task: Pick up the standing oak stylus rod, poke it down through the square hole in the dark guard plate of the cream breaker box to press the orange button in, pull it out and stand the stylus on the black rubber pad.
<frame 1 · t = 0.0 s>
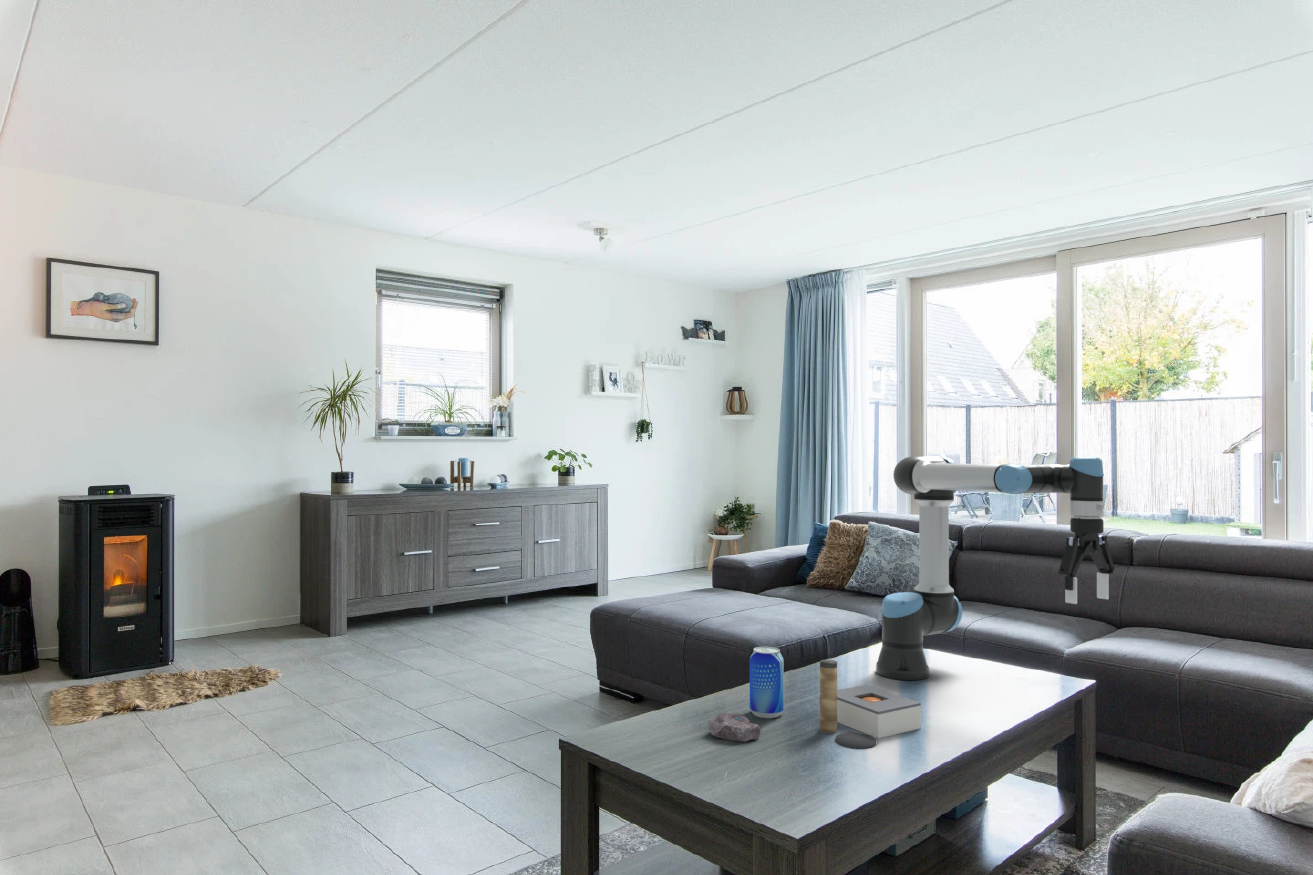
hand: (1087, 600, 210), 28 cm above the table, fingers open, 13 cm apart
breaker button: (871, 703, 200), point 5 cm above the table, slide at 0.0 cm
stylus: (828, 730, 194), on the table
beer can: (766, 714, 206), on the table
rock: (732, 737, 189), on the table
breaker box: (871, 722, 199), on the table
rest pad: (855, 741, 186), on the table
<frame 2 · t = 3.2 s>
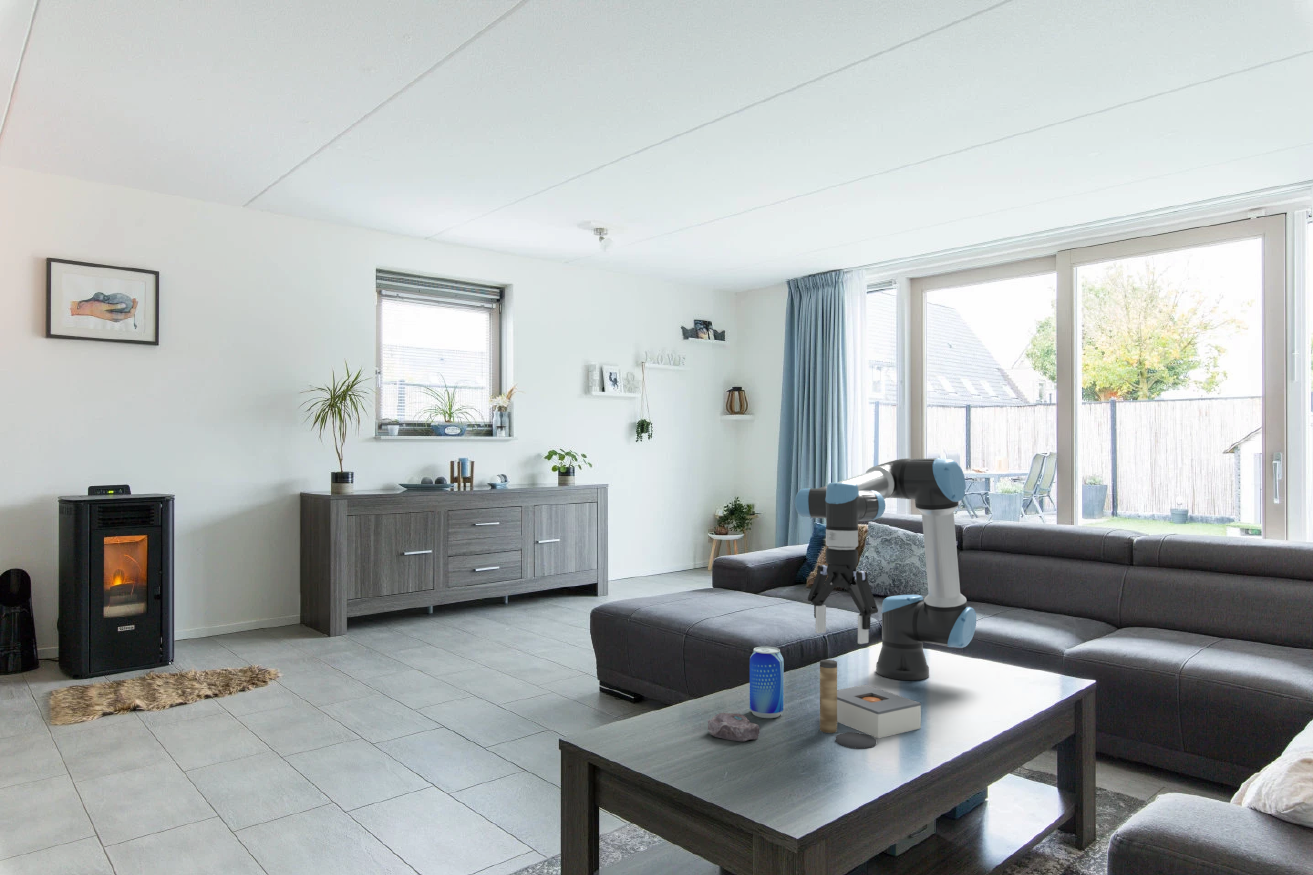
hand: (841, 637, 195), 22 cm above the table, fingers open, 13 cm apart
nothing on the table moved.
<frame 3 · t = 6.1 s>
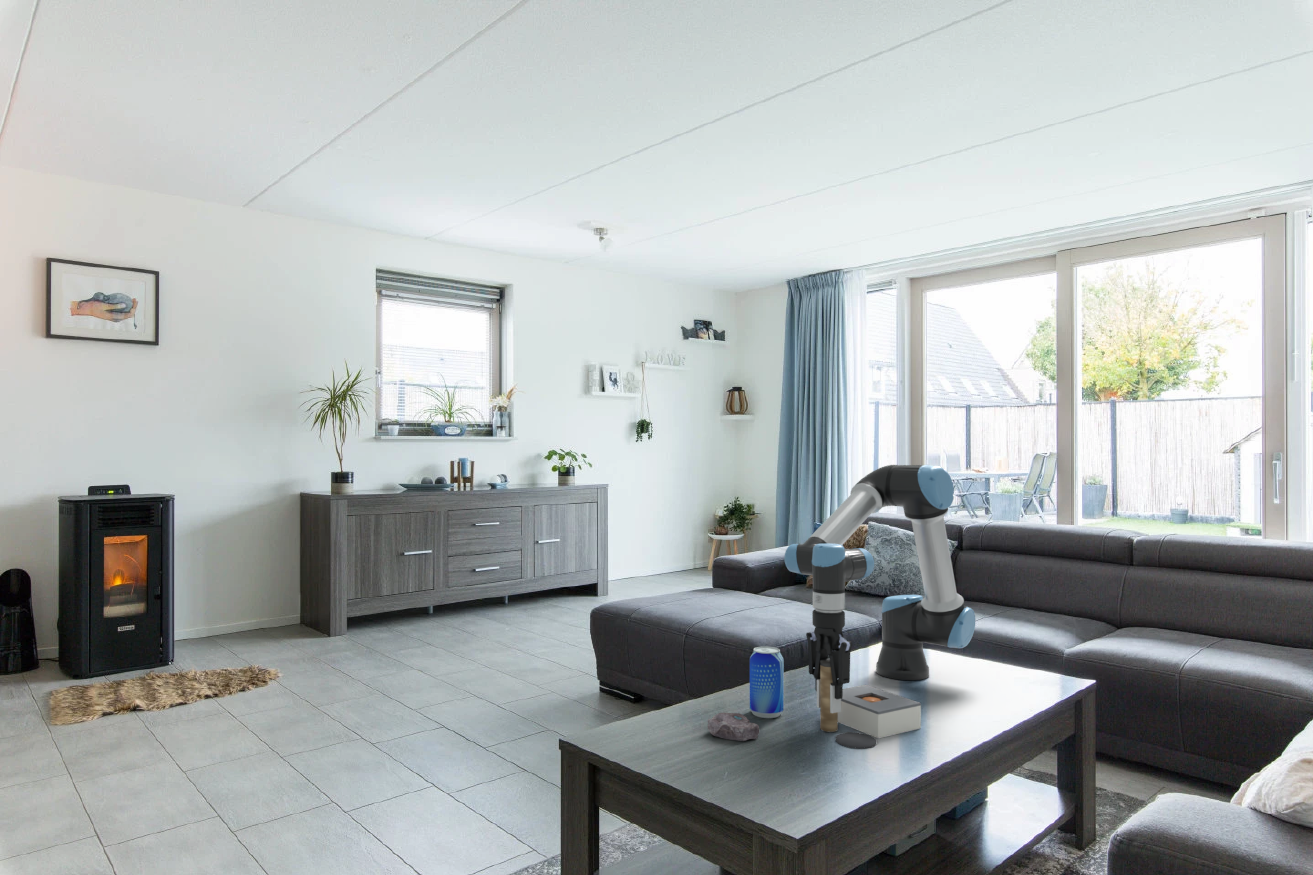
hand: (828, 709, 194), 5 cm above the table, fingers closed on stylus, 4 cm apart
stylus: (828, 728, 194), on the table, touching gripper
everything else where it was.
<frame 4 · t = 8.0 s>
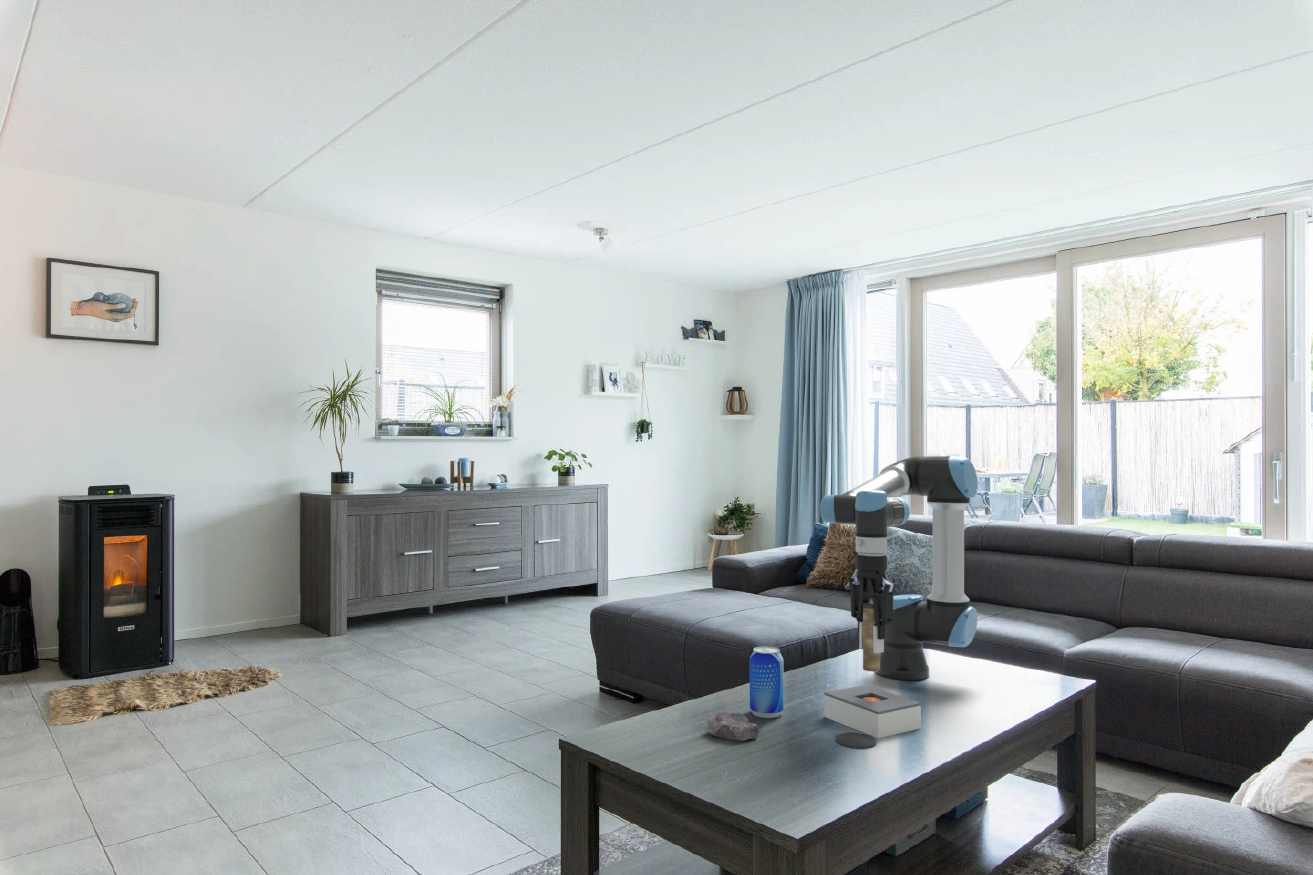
hand: (871, 650, 200), 17 cm above the table, fingers closed on stylus, 4 cm apart
stylus: (871, 669, 200), point 13 cm above the table, touching gripper
everything else where it was.
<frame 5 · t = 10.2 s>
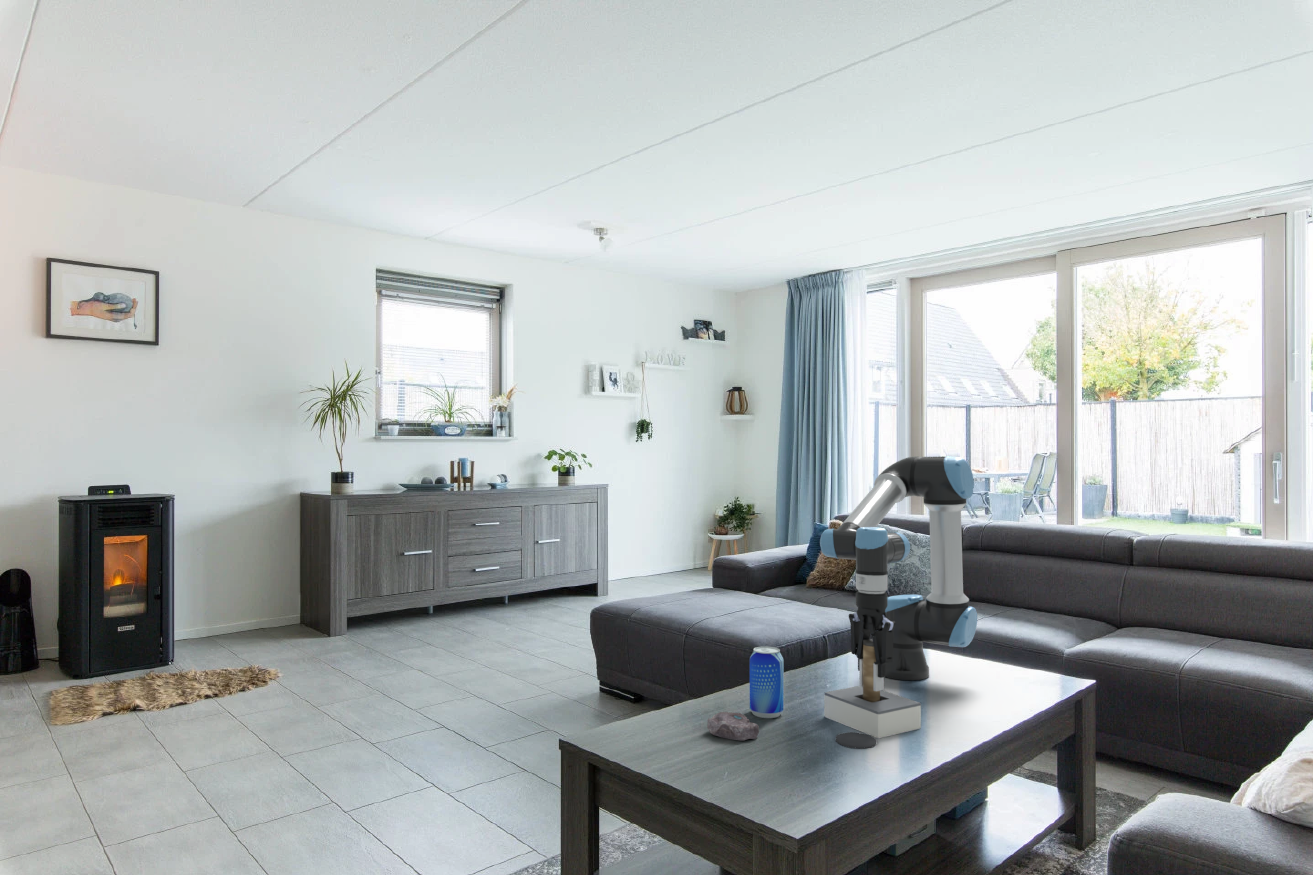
hand: (871, 687, 200), 8 cm above the table, fingers closed on stylus, 4 cm apart
breaker button: (871, 710, 199), point 3 cm above the table, slide at 1.8 cm, touching stylus
stylus: (871, 706, 199), point 4 cm above the table, touching breaker button, gripper
everything else where it was.
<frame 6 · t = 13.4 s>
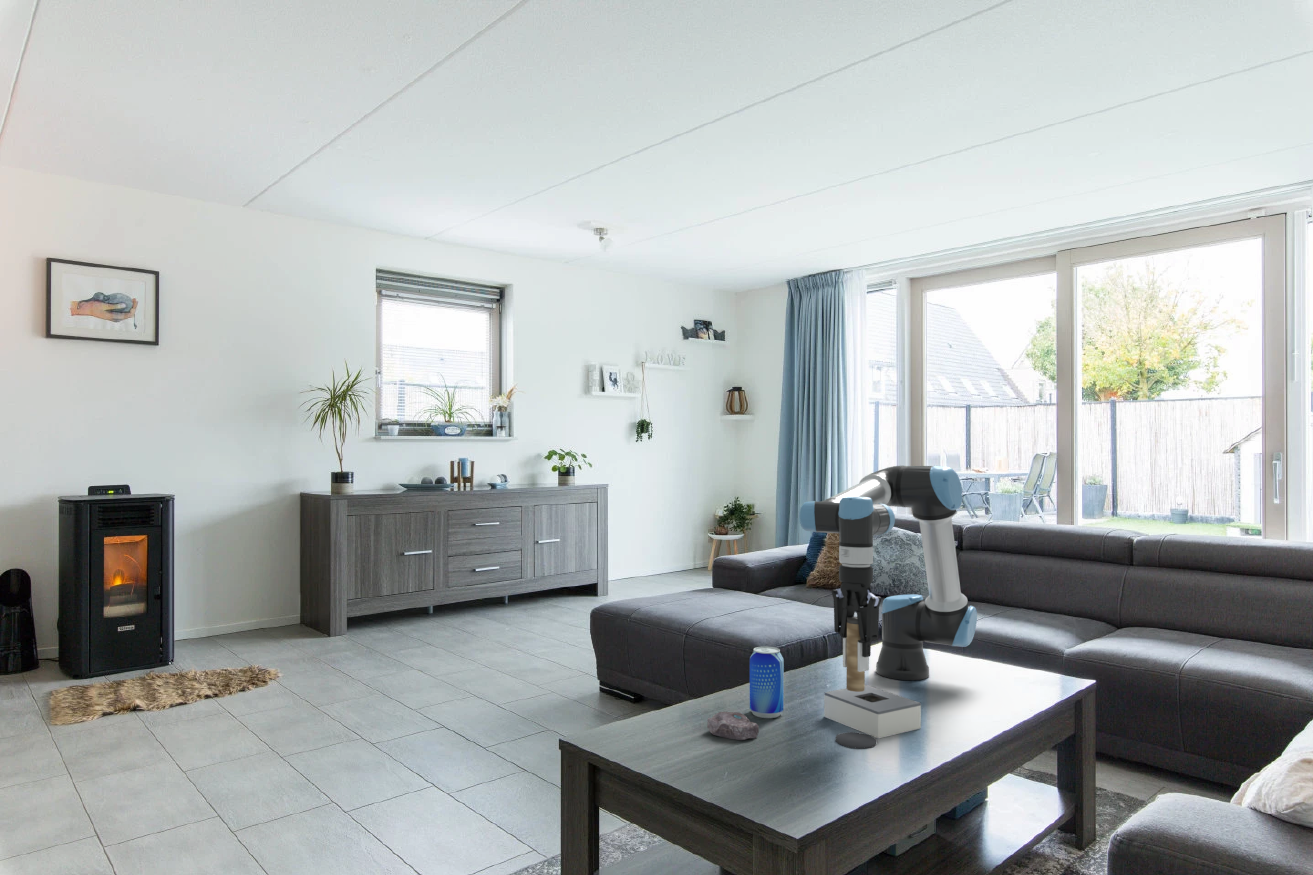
hand: (855, 668, 186), 16 cm above the table, fingers closed on stylus, 4 cm apart
breaker button: (871, 710, 199), point 3 cm above the table, slide at 1.8 cm
stylus: (855, 689, 186), point 12 cm above the table, touching gripper
when the fingers open (6 cm above the table, at t = 15.4 s): stylus stays where it is, resting on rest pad.
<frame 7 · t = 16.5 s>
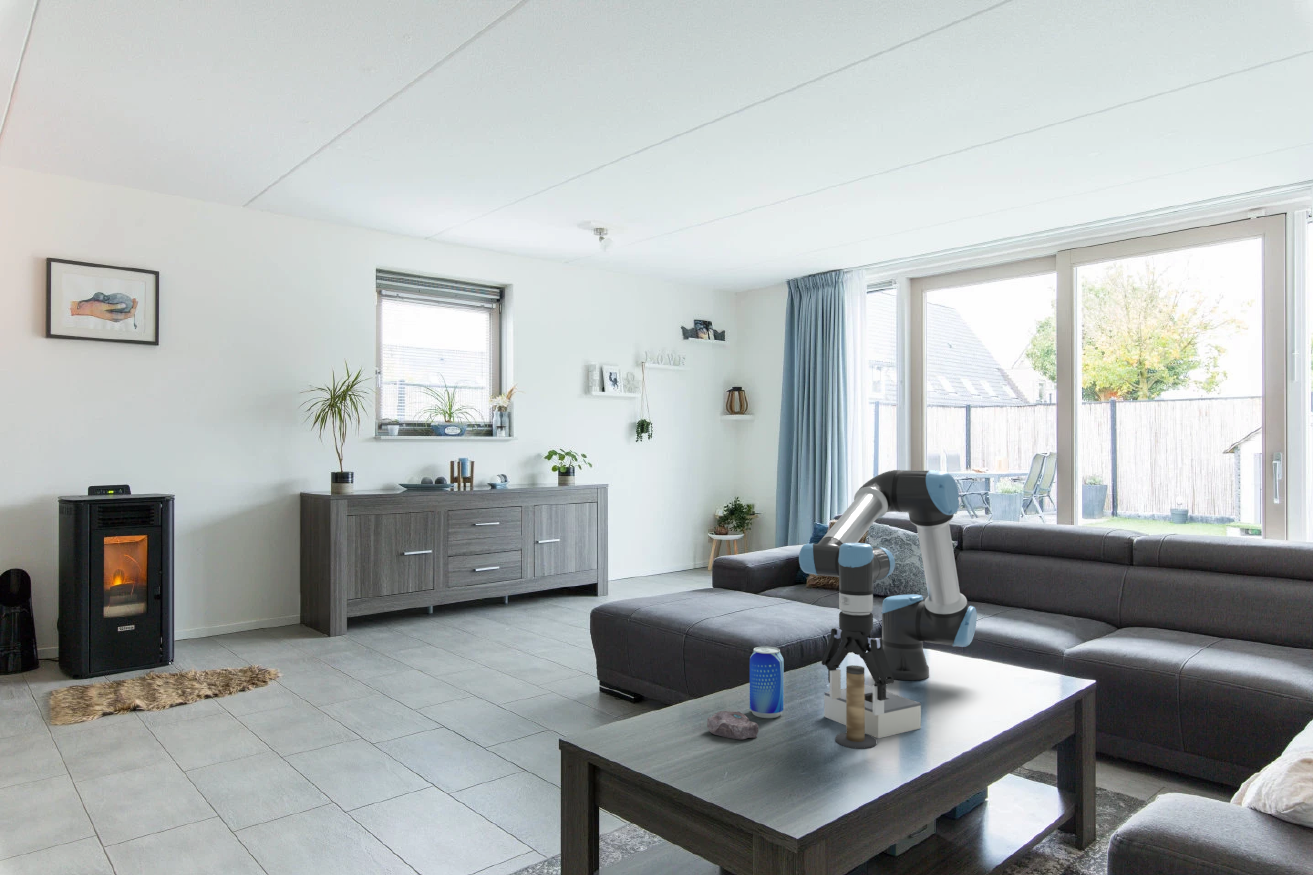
hand: (856, 706, 186), 8 cm above the table, fingers open, 13 cm apart
stylus: (855, 738, 186), point 1 cm above the table, touching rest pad
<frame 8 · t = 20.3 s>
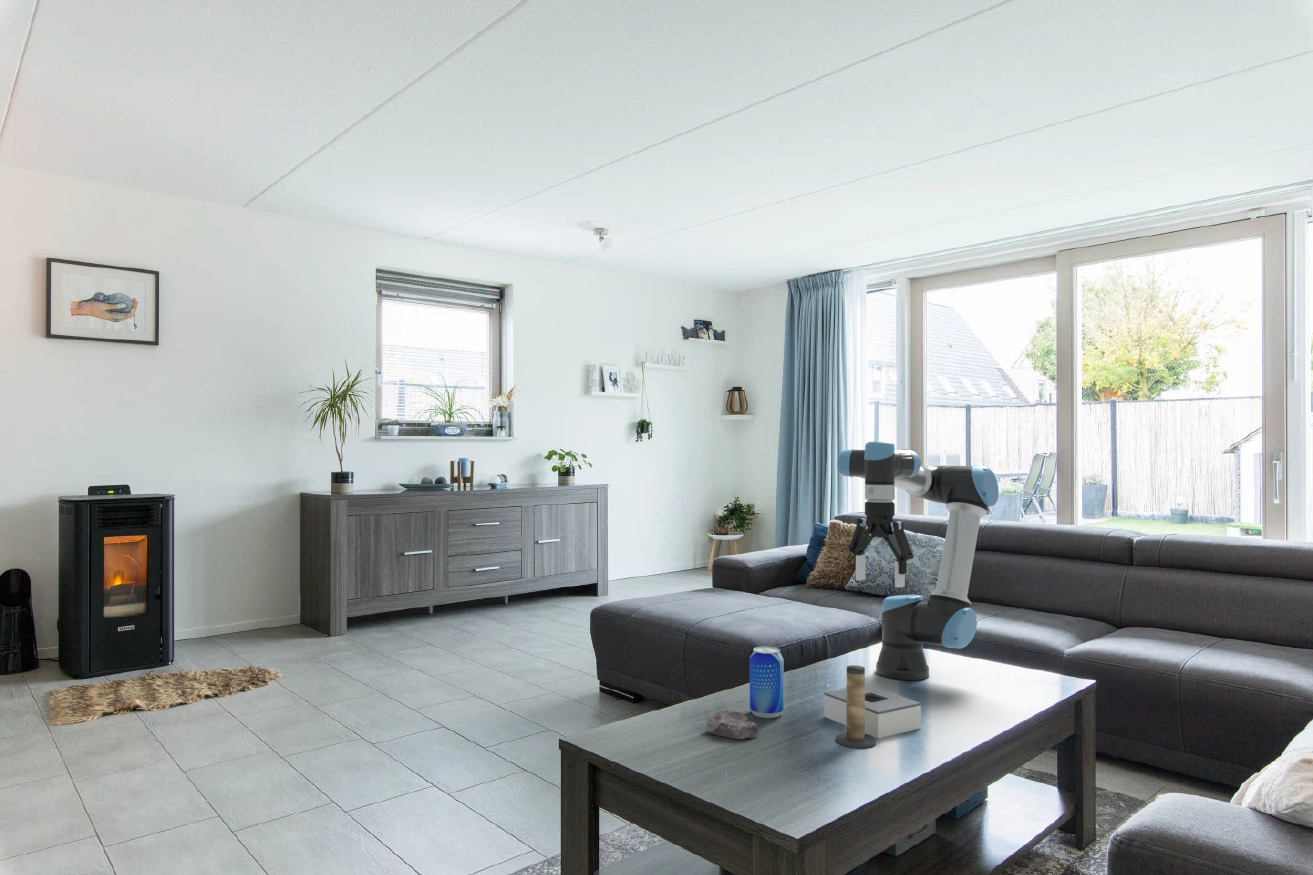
hand: (879, 583, 213), 32 cm above the table, fingers open, 13 cm apart
at the end: breaker button slide at 1.8 cm; stylus inside the target area on the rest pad (0.1 cm from its centre), point 0.6 cm above the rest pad's base; stylus tilted 0° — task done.
